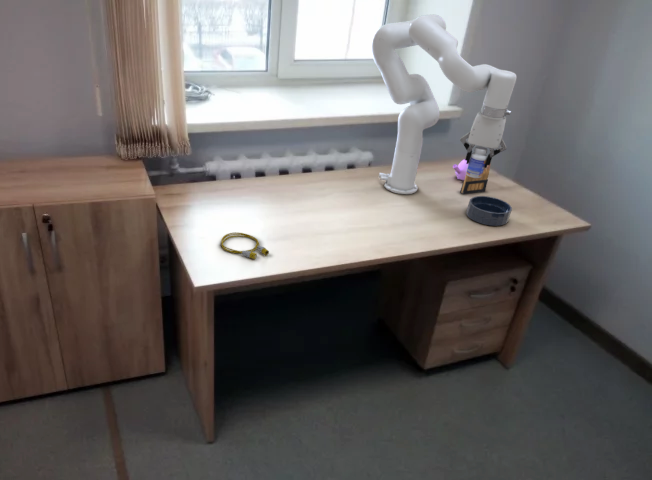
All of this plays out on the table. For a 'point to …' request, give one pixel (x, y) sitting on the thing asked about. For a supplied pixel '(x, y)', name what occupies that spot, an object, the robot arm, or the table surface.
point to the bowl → (488, 210)
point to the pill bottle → (477, 162)
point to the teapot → (461, 169)
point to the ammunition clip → (475, 183)
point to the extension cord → (249, 252)
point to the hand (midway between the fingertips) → (476, 164)
